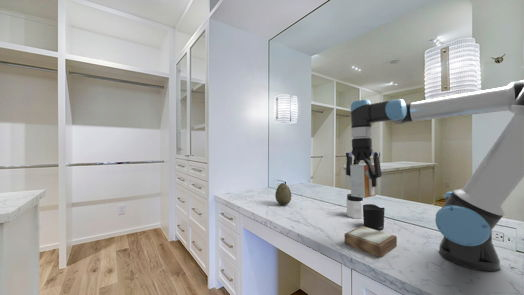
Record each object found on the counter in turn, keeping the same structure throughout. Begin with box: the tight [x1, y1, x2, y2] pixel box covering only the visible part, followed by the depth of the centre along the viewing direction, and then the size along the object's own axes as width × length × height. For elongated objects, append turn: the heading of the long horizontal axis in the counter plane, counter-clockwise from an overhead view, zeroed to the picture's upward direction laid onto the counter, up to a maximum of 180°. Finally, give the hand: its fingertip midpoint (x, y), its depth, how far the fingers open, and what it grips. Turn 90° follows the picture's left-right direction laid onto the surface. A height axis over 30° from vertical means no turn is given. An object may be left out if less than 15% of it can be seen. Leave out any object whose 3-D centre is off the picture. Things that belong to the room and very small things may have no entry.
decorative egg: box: [274, 182, 292, 206], centre depth 143 cm, size 11×11×15 cm
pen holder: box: [362, 203, 385, 231], centre depth 103 cm, size 9×9×10 cm
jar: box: [346, 193, 364, 220], centre depth 119 cm, size 9×8×12 cm
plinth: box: [344, 225, 398, 258], centre depth 85 cm, size 14×14×4 cm
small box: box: [350, 163, 377, 199], centre depth 88 cm, size 8×6×13 cm
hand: (363, 193), depth 88 cm, fingers closed on small box, 6 cm apart
